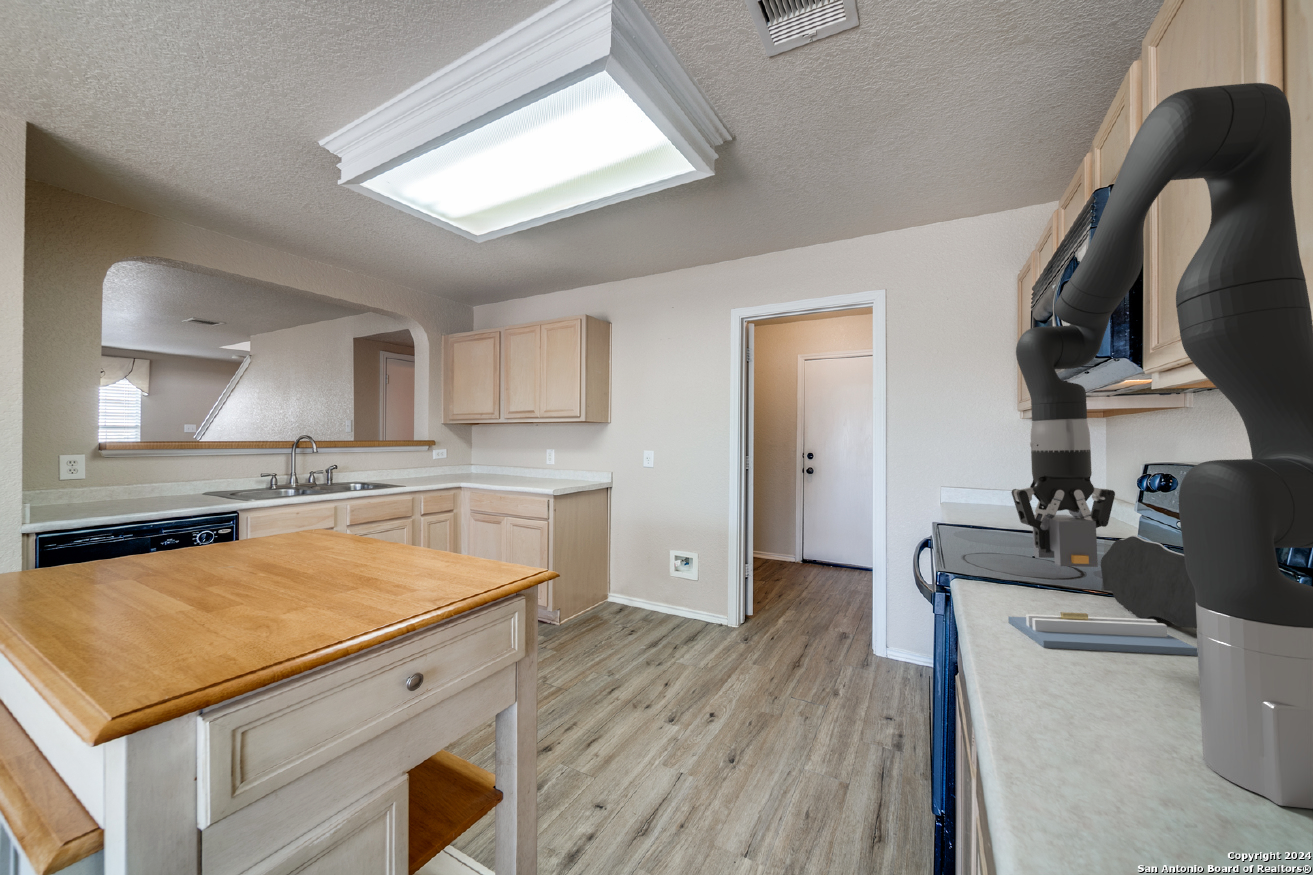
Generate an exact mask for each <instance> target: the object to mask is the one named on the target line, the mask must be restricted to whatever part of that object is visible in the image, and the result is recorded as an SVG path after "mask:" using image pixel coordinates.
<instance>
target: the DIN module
mask: <svg viewBox="0 0 1313 875" xmlns="http://www.w3.org/2000/svg"><path fill="white" fill-rule="evenodd" d="M1035 515H1036V514H1034V517H1035ZM1049 525H1050V526H1049V528H1048V529H1047V530H1049V534H1050V550H1051V552H1050V553H1043V552H1041V551H1039V549H1038V548H1036V546H1035V538H1034V528H1033V527H1032V538H1033V541H1032V543H1033V556H1034V557H1036V558H1040V559H1042V558H1046V559H1054V565H1055V566H1059V567H1081V568H1089V567H1090V568H1098V542H1097V528H1096V521H1091V520H1087V519H1081V518H1078V517H1073V516H1072V515H1069V514H1056V515H1055V517H1054V518H1052V519H1049Z"/></svg>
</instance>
